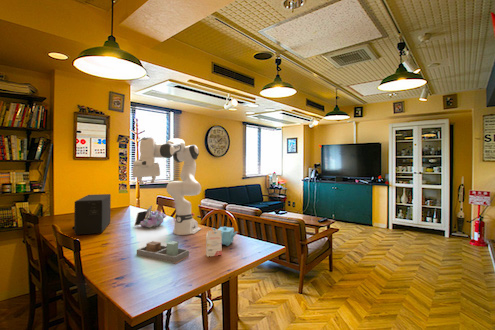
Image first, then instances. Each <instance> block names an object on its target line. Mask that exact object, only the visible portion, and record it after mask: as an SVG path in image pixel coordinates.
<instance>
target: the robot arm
mask: <svg viewBox="0 0 495 330" xmlns="http://www.w3.org/2000/svg"><path fill="white" fill-rule="evenodd" d="M140 139H141V140H140V143H139V145H140V146H139V153H140V155H139V159H137V160H134V161H133V162H132V163H133V167H132V177H133V178H137V180H138V182H139V185H144V181H143V180H142V179H143V178H144V177H145V178H146V177H151V178H152V179H151V180H150V184H155V180H156V177H159V176H160V175H161V170H160V164H159V163H158V162H155V160H156V159H155V158H163V159H164V158H166V159H170V158H172V157H173V160H174V161H175V162H176V163H182V162H183V164H182V165H183V166H182V167H181V168H182V169H181V171H180V175H179V178H180V179H181V180H173V181H169V182H168V183H167V185H166V193H167V194H169V196H171V198H172V199H173V200H174V203H175V220H174V225H173V226H174V228H173V229H172V231H173V234H174V235H178V236H179V235H180V236H182V235H183V236H186V235H194V234H196V233H197V232H199V231H201V230H202V227H199V225H198V224H199V223H198V221H197V220H196V219H194V217H195V212H192V203H191V201H189V200H187V199H185V197H186V196H188V197H190V196H191V197H192V196H193V197H194V196H197V195H200V193H201V192H202V185H201V184H200V182H199V181H197V180H196V178H195V177H196V176H195V175H196V171H197V162H196V160H197V159H198V157H199V154H200V150H199V147H198V146H197V145H196V144H190V145H187V146H186V142H185V141H184V139H181V138H171V139H169V140H167V141H166V142H164V143H163V142H161V143H157V142H155V140H154V139H155V138H154V137H152V136H151V137H148V136H147V137H142V138H140ZM184 196H185V197H184ZM193 216H194V217H193Z"/></svg>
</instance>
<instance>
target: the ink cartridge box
mask: <svg viewBox="0 0 495 330" xmlns="http://www.w3.org/2000/svg"><path fill="white" fill-rule="evenodd" d="M214 232H217V233H216V234H214ZM222 245H223V244H222V235H221V230H218V229H216V230H207V231H206V234H205V255H206V257H209V256H210V257H218V255H221V256H222V254H223V253H222V247H223V246H222Z"/></svg>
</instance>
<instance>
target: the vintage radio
mask: <svg viewBox="0 0 495 330" xmlns="http://www.w3.org/2000/svg"><path fill="white" fill-rule="evenodd" d="M111 201H112V199H111V194H110V193H108V194H106V193H104V194H101V193H99V194H87V195H85V196H84V197H83V196H82V198H79V199H77V200H75V201H74V209H73V210H74V216H73V217H74V222H73V223H74V225H73V226H72V227H71V228H72V230H74V231H73V232H74V235H77V236H81V235H80V234H82V235H90V234H97V233H100V234H102V233H103V232H104V230H106V228H107V227H108V225H109V224H110V223H111V205H112V204H111Z"/></svg>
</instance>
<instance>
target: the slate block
mask: <svg viewBox="0 0 495 330" xmlns="http://www.w3.org/2000/svg"><path fill="white" fill-rule="evenodd" d="M166 246H167V253H166V255H171V256H177V255H178V248H179V241H173V240H170V241H169V242H167V243H166Z"/></svg>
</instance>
